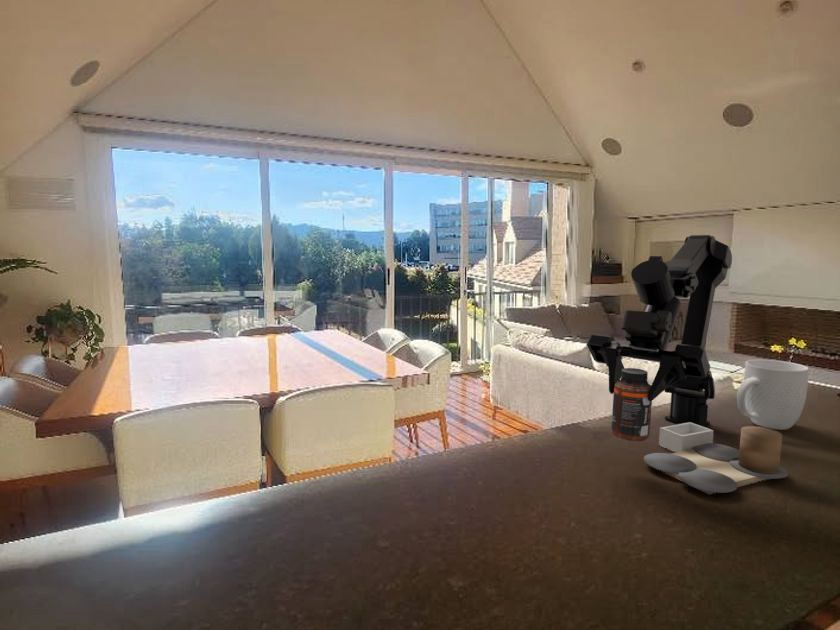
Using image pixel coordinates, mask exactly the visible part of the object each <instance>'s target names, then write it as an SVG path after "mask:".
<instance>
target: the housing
mask: <svg viewBox="0 0 840 630" xmlns="http://www.w3.org/2000/svg"><path fill="white" fill-rule="evenodd" d="M714 431H715V430H713V429H710V428H708V427H705V426H703V425H702V426H700V425H697V424H694V423H691V422H688V423H683V424H677V423H676V424H673V425H668V426H662V427H659V437H658V446H659V445H660V447H662V448H664V449H666V448H667V449H666V450H669V451H671V452H673V453H676V452H681V451H685V450H690V449H694V446H697V445H702V444H707V443H714Z"/></svg>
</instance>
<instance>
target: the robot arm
mask: <svg viewBox="0 0 840 630" xmlns="http://www.w3.org/2000/svg"><path fill="white" fill-rule="evenodd" d="M732 262H733V255H732V252H731V249H730V247H729V245H727V244H725V243H723V242H720V241H719V240H717V239H716V238H715V236H714V235H710V234H691V235H690V236H686V237H685V239H684V243H683V245H682V246H681V247H680V248H679V250H677V252H676V254H674V256H673V257H672V258H671V259H670V260H667V261H664V259H663V255H660V256H659V255H650V256H649V258H648V260H645V261H642V262H641V263H639V264H637V265H636V266H635V267H633V269H632V270H631V273H630V276H631V280H632V281H633V282H632V283H633V285H634V288H635V290H636V294H637V297H638V300H639V302H640V303H643V304H644V305H643V308H642V310H641V311H640V310H631V309H630V310H629V309H627V310H624V314H623V318H622V322H621V323H622V324H621V330H622V331H625V332H626V334H625V339H626V342H629V344H621V343H620V342H618V341H616V340H615V338H614V335H608V334H598V333H593V334H591V335H590V336H589V337H588V340H587V342H586V347H587V348H588V351H589V352H590V355H591V357H592V359H593V360H594V362H597V363H599V364H606V367H608V392H609V393H610V394H611V395H614V386H615V383H616V382H617V381H619V380H621V378H622V377H621V372H622V369H625V366H624V364H623V361H622V360H623V358H631V359H635V360H642V361H649V362H656V363H659V367H658V369H657V372H656V374H655V376H654V379H653V381H652V383H651V384H650V385H651V388H650V390H649V394H648V400H649V401H652V402H653V401H654V400H656V398H657V397H658V396H659V395H661V393H663V392H664V393H666V394H667V393H669V394H670V406H669V408H670V409H669V415H666V416H664V420H667V421H670V422H673V423H675V424H676V425H677V424H683V423H688V422H691V423H694V424H697V425H700V426H702V427H703V426H705V425H710V424H711V421H710V420H708V408H709V406H708V405H709V404H707V401H708V400H713V399H715V396H716V395H715V394H716V388H715V381H714V380H715V379H714V378H713V375H712V371H711V364H710V361H709V360H708V356H707V352H706V350H705V347H706V343H707V342H706V341H707V337H708V332H709V331H708V330H709V327H710V322H711V321H710V320H711V315H712V309H713V304H714V297H715V293H716V292H715V291H716V289H717V287H719V286H720V285H721V284H722V283H723V282H724V281H725V280H726V278H727V274H728V269H731V267H732ZM680 298H681V299H688V298H689V299H688V304H687V311H686V315H685V321H684V326H683V327H684V328H683V333H682V337H681V341H680V342H681V343H678V344H676V345H675V349H674V350H672V351H671V350H667V348H668V345H669V343H672V341H673V335H672V333H673V330H674V328H675V325H676V321H677V320H678V319H680V312H681V311H680V310H681V309H682V308H681V307H682V304H681V301H680Z"/></svg>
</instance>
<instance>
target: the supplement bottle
mask: <svg viewBox="0 0 840 630" xmlns="http://www.w3.org/2000/svg"><path fill="white" fill-rule="evenodd" d="M624 368H625V367H624ZM648 374H649V372H648V371H647V370H644V369H642V368H641V369H640V368H634V367H626V368H625V369H622V372H621V378H620V380H619V381H617V382H616V383H615V386H614V393H613V399H612V400H613V401H612V412H611V413H612V414H611V415H612V416H611V425H610V426H611V434H612V435H613V436H614V437H617V438H618V439H621V440H624V441H628V442H629V441H630V442H643V441H646V440H647V439H649V437H650V432H651V431H650V430H651V420H652V419H651V416H652V407H653V400H652V401H649V400H648V394H649V390H650V388H651V385H652V384H649V381H648Z"/></svg>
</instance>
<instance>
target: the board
mask: <svg viewBox="0 0 840 630" xmlns="http://www.w3.org/2000/svg"><path fill="white" fill-rule="evenodd" d="M739 440H740V441H739V448H738V449H737V448H735V447H733V446H728V445H724V444H719V443H714V442H713V443H707V444H702V445H697V446H694V449H690V450H685V451H681V452H673V453H671V452H670V453H666V452H665V453H664V452H653V453H649V454H648V453H647V454H646V455H644V457H643V461H644V463H645V465H647V466H649V467H651V468H653V469H655V470H657V471H660V470H661V471H660V472H662V471H663V472H662V473H664V472H665V473H664V474H666V475H668V476H670V477H672V478H674V479H677V480H679V481H681V482H682V483H685V485H688V486H690V487H692V488H695V489H697V490H699V491H701V492H703V493H705V494H707V495H714V494H717V493H718V494H719V493H720V494H721V493H722V494H723V493H724V494H725V493H731V492H735V491H737V489H738V488H741V487H743V486H744V487H745V486H747V485H752V484H756V483H759V482H758V481H760V482H763V481H767V480H772V479H774V480H777V479H778V480H781V479H785V478H786V477H788V475H789V472H788V470H787V468H785V467H783V466H781V465H780V463H781V455H782V454H781V453H782V442H783V434H782V433H781V432H779V431H777V430H776V429H770V428H765V427H762V426H754V425H750V426H748V425H747V426H743V427H741V428H740V438H739ZM766 479H767V480H766ZM762 480H763V481H762ZM751 483H752V484H751ZM716 492H717V493H716ZM713 493H714V494H713Z"/></svg>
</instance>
